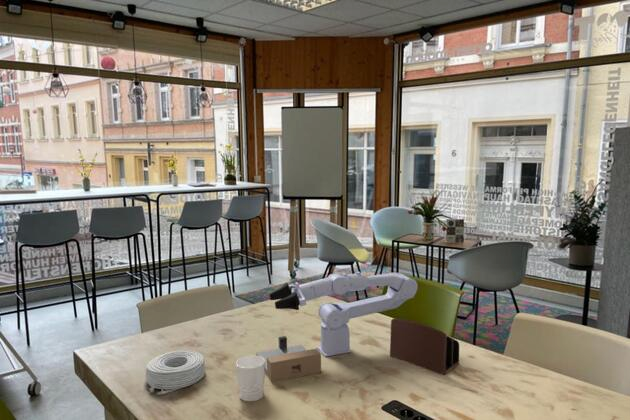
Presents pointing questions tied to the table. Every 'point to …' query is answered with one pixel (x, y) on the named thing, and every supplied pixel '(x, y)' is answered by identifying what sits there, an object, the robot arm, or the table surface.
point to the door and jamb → (291, 363)
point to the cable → (174, 370)
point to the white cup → (251, 377)
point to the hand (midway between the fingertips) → (272, 301)
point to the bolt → (283, 345)
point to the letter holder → (423, 346)
